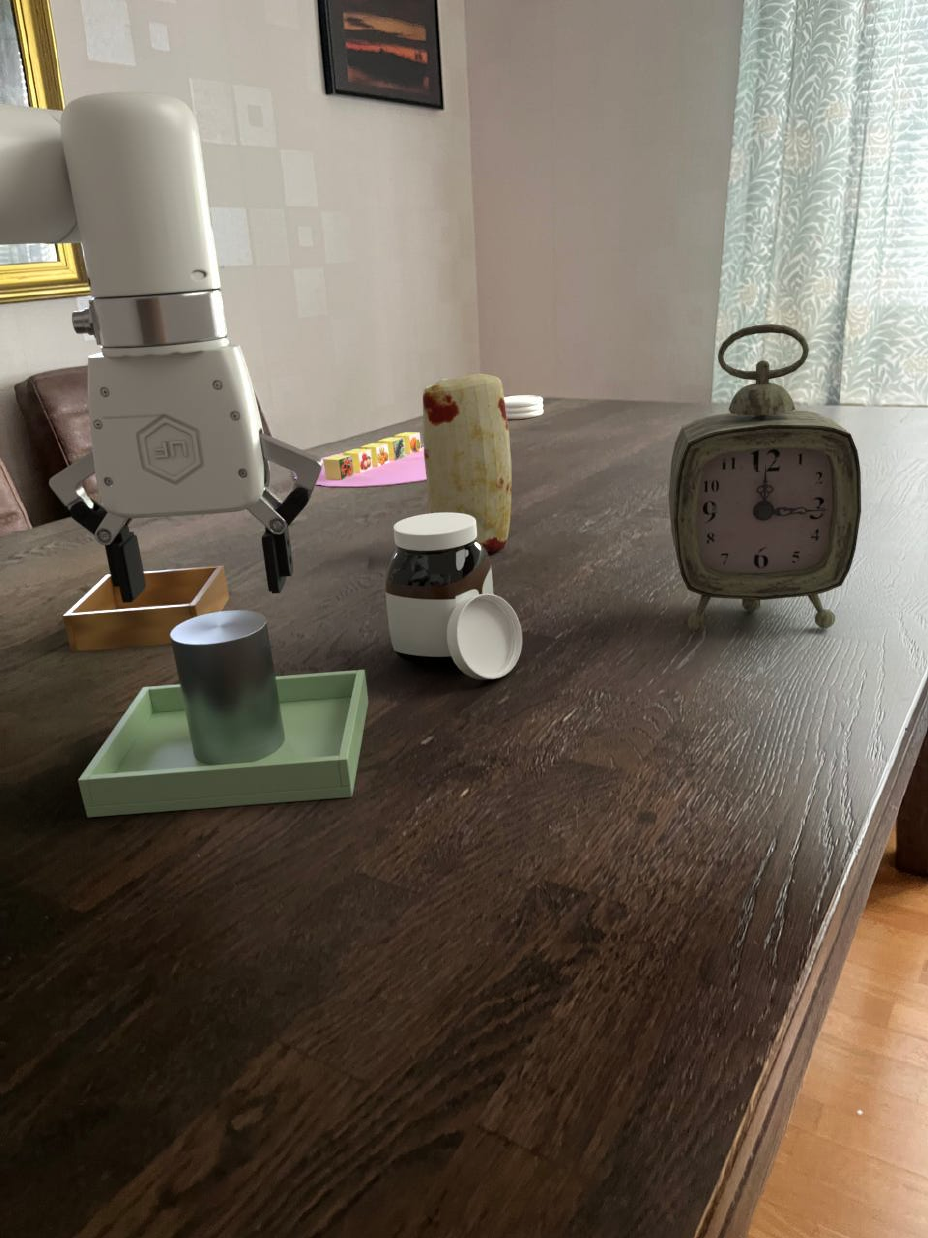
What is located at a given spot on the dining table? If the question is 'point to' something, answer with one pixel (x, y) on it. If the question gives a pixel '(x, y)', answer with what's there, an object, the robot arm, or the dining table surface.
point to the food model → (469, 453)
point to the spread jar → (448, 599)
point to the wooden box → (144, 609)
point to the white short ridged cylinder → (523, 406)
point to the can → (228, 687)
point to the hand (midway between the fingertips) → (206, 591)
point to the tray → (175, 780)
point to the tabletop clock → (764, 496)
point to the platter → (376, 464)
